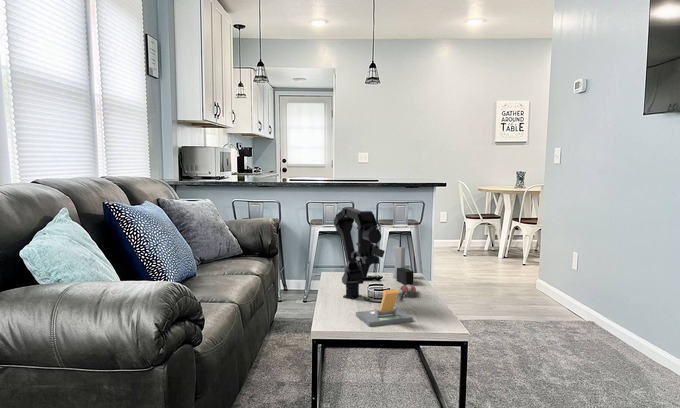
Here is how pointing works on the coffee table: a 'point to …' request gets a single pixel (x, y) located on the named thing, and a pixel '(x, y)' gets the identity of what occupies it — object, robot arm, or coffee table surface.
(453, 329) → the coffee table surface
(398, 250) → the vintage mobile phone
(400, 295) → the walkie-talkie
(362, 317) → the box
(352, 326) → the coffee table surface
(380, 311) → the breaker lever
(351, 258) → the robot arm
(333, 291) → the coffee table surface
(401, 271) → the digital camera
